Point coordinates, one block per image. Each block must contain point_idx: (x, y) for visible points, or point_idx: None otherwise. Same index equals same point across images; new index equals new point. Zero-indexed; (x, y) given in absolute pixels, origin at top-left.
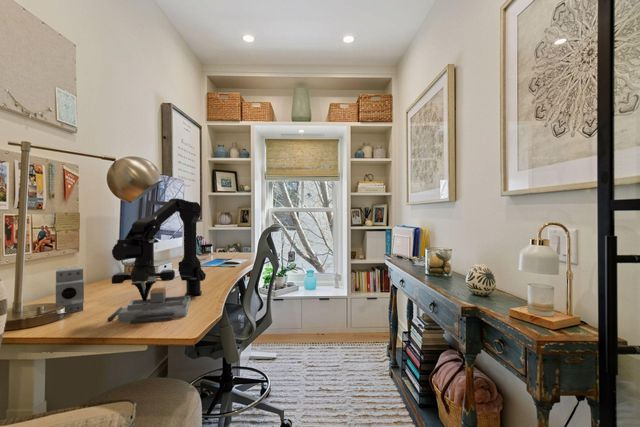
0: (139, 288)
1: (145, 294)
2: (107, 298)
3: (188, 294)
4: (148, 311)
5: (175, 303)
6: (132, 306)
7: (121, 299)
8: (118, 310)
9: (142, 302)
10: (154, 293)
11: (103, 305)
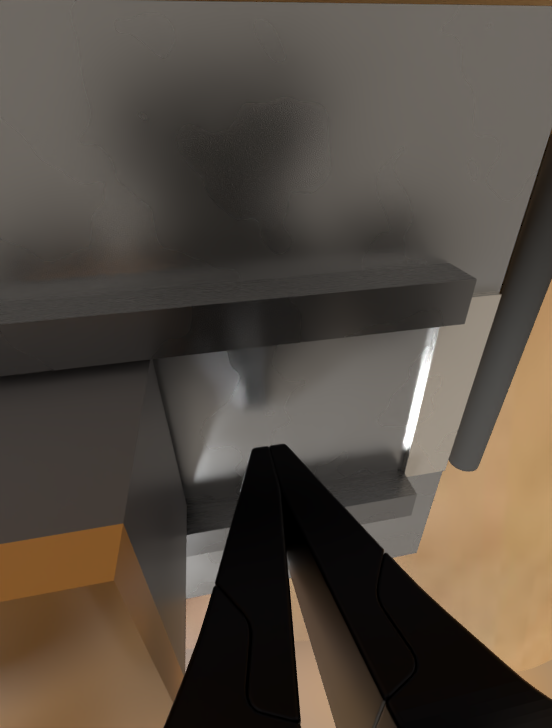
0: (446, 662)
1: (266, 531)
2: (515, 619)
3: None
4: (39, 3)
5: None
6: (399, 278)
7: (455, 612)
8: (492, 397)
9: None
10: (13, 533)
11: (544, 540)
